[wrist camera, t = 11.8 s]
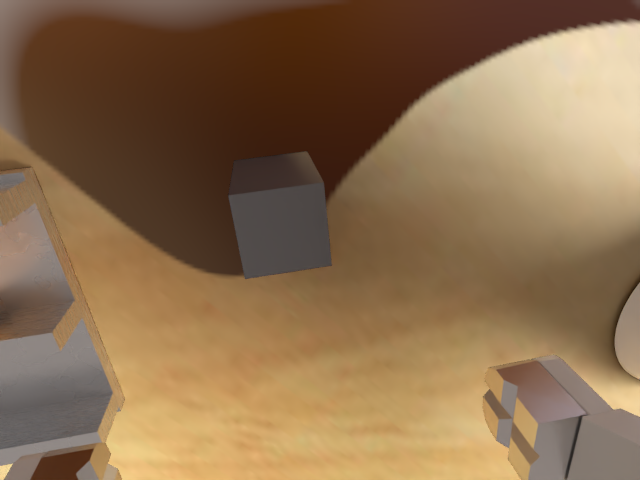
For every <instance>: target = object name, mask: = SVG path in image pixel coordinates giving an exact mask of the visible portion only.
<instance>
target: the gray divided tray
mask: <svg viewBox="0 0 640 480" xmlns="http://www.w3.org/2000/svg"><path fill="white" fill-rule="evenodd" d="M124 400H125V399H124V396H123V394H122V391H121V389H120V386H119V383H118V381H117V378H116V376H115V373H114V371H113V368H112V366H111V363H110V361H109V358H108V356H107V353H106V351H105V348H104V346H103V343H102V341H101V338H100V336H99V333H98V331H97V328H96V326H95V323H94V321H93V318H92V316H91V313H90V311H89V308H88V306H87V303H86V301H85V298H84V296H83V293H82V291H81V288H80V286H79V283H78V281H77V278H76V276H75V273H74V270H73V268H72V265H71V263H70V260H69V258H68V255H67V253H66V250H65V248H64V245H63V243H62V240H61V238H60V235H59V233H58V230H57V228H56V225H55V223H54V220H53V218H52V215H51V213H50V210H49V208H48V205H47V203H46V200H45V198H44V195H43V193H42V190H41V188H40V185H39V183H38V180H37V178H36V175H35V173H34V170H33V168H32V167H28V168H20V169H12V170H3V171H0V466H2V465H7V464H12V463H14V462H15V461H17V460H18V459H19V458H20V457H21V456H24V455H30V454H36V453H42V452H48V451H51V450H57V449H63V448H69V447H75V446H81V445H87V444H93V443H105V442H106V439H107V437H108V434H109V431H110V429H111V426H112V423H113V421H114V418H115V415H116V413H117V412H118V411H121V409H122V406H123V403H124Z"/></svg>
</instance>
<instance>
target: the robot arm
mask: <svg viewBox="0 0 640 480" xmlns="http://www.w3.org/2000/svg"><path fill="white" fill-rule="evenodd" d="M615 352H616V356H617V358H618V361H619V363H620V364H621V366H622V367H623V368H624V370H625V371H627V372H628V373H629V374H630V375H632V376H634V377H635V378H637V379H639V380H640V283H639V284H638V285H637V287H636V288H635V290H634V291H633V292H632V294H631V296H630V297H629V299H628V301H627V302H626V304H625V306H624V308H623V310H622V313H621V315H620V318H619V320H618V324H617V328H616V333H615ZM485 382H486V384H487V385H488V386H489V388H490V389H489V390H488V391H487V393H486V394H485V395H484V396H483V411H484V416H485V420H486V423H487V425H488V427H489V429H490V431H491V433H492V435H493V436H494V438H495V439H496V441H498V442H499V443H501V444H503V445H504V446H506V447H508V448H509V452H508V460H509V462H510V463H511V465H512V466H513V468H514V469H515V471H516V472H517V474H518V476H519V477H520V479H521V480H640V417H638V416H636V415H634V414H631V413H629V412H627V411H625V410H623V409H616V410H613V409H612V408H611V407H610V406H609V405H608V404H607V403H606V402H605V401H604V400H603V399H602V398H601V397H600V396H599V395H598V394H597V393H596V392H595V391H594V390H593V389H592V388H591V387H590V386H589V385H588V384H587V383H586V382H585V381H584V380H583V379H582V378H581V377H580V376H579V375H578V374H577V373H575V372H574V371H573V370H572V369H571V368H570V367H569V366H568V365H567V364H566V363H565V362H564V361H563V360H562V359H561V358H560V357H558V356H556V355H549V356H544V357H539V358H534V359H531V360H524V361H519V362H514V363H509V364H504V365H499V366H494V367H489V368H488V370H487V371H486V376H485ZM110 456H111V453H110V451H109V449H108V447H107V445H106V443H93V444H87V445H81V446H75V447H69V448H63V449H57V450H51V451H48V452H42V453H36V454H30V455H24V456H21V457H20V458H19V459H18V460H17V461H15V462H14V463H13V465H12V467H11V468H10V470H9V472H8V474H7V475H6V477H5V479H4V480H122V478H121V475H120V473H119V470H118V469H117V468H115V467H113V466H112V465H110V464H108V462H109V459H110Z"/></svg>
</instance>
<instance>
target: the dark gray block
mask: <svg viewBox="0 0 640 480" xmlns="http://www.w3.org/2000/svg"><path fill="white" fill-rule="evenodd" d="M228 197H229V202H230V207H231V212H232V217H233V222H234V227H235V231H236V237H237V241H238V247H239V252H240V257H241V262H242V267H243V272H244V277H245V279H249V278H255V277H261V276H268V275H274V274H281V273H287V272H293V271H300V270H306V269H313V268H319V267H326V266H332V263H331V252H330V242H329V231H328V221H327V210H326V199H325V189H324V182H323V180H322V178H321V176H320V174H319V173H318V171H317V169H316V167H315V165H314V163H313V161H312V159H311V158H310V156H309V154H308V152H307V151H304V152H297V153H289V154H280V155H274V156H265V157H258V158H249V159H242V160H234V163H233V169H232V176H231V182H230V188H229V194H228Z"/></svg>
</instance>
